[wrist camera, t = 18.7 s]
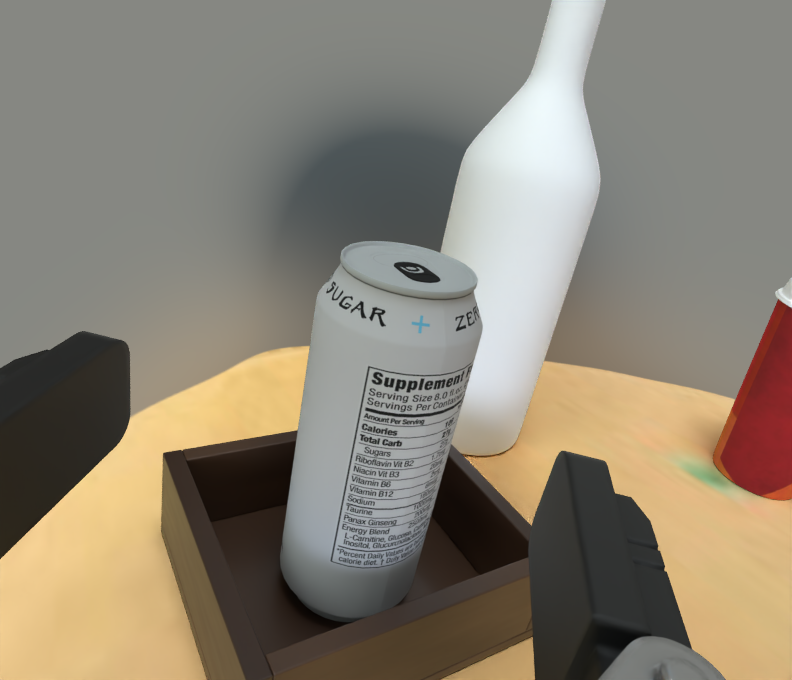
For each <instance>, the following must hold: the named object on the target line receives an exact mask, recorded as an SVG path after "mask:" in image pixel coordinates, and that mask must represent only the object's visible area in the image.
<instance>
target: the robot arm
mask: <svg viewBox="0 0 792 680" xmlns="http://www.w3.org/2000/svg"><path fill="white" fill-rule="evenodd" d="M129 419H130V352H129V348H128V345H127V344H126V343H125V342H124V341H122V340H118V339H114V338H110V337H106V336H102V335H98V334H94V333H90V332H85V331H82V332H78V333H76V334H75V335H73V336H72V337H70V338H68V339H67V340H65V341H64V342H62V343H60V344H59V345H57V346H55V347H54V348H52V349H51V350H44V351H41V352H38V353H35V354H31V355H28V356H25V357H22V358H19V359H15V360H13V361H12V362H10V363H9V364H7V365H5V366H3V367H2V368H0V559H1V558H2V557H3V556H4V555H5V554H6V553H7V552H8V551H9V550H10V549H11V548H12V547H13V546H14V545H15V544H16V543H17V542H18V541H19V540H20V539H21V538H22V537H23V536H24V535H25V534H26V533H27V532H28V531H29V530H30V529H31V528H32V527H34V526H35V525H36V524H37V523H38V522H39V521H40V520H41V519H42V518H43V517H44V516H45V515H46V514H47V513H48V512H49V511H50V510H51V509H52V508H53V507H54V506H55V505H56V504H57V503H58V502H59V501H60V500H61V499H62V498H63V497H64V496H65V495H66V494H67V493H68V492H69V491H70V490H71V489H73V488H74V487H75V486H76V485H77V484H78V483H79V482H80V481H81V480H82V479H83V478H84V477H85V476H86V475H87V474H88V473H89V472H90V471H91V470H92V469H93V468H94V467H95V466H96V465H97V464H98V463H99V462H100V461H101V460H102V459H103V458H104V457H105V456H106V455H107V454H108V453H109V452H110V451H111V450H113V449H114V448H115V447H116V446H117V444H118V443H119V442H120V441H121V439H122V437H123V436H124V434H125V432H126V429H127V426H128V423H129ZM528 555H529V574H530V592H531V611H532V630H533V648H534V667H535V680H726V679H725V678H724V677H723V676H722V674H721V673H720V672H719V671H718V670H717V669H716V668H715V667H714V666H713V665H712V664H711V663H709V662H708V661H707V660H706V659H705V658H703V657H702V656H701V655H699V654H698V653H696V652H695V651H694V650H692V648H691V644H690V641H689V638H688V635H687V632H686V629H685V626H684V623H683V620H682V617H681V614H680V611H679V608H678V605H677V602H676V599H675V596H674V593H673V589H672V586H671V583H670V580H669V577H668V574H667V572H665V571H664V568H665V565H664V562H663V559H662V556H661V553H660V551H658V544H657V541H656V538H655V534H654V531H653V528H652V525H651V522H650V520H649V519H648V518H647V517H646V515H645V514H644V513H643V512H642V510H641V509H640V508H639V507H638V505H637V504H636V503H635V502H634V500H633V499H632V498H631V497H628V496H624V495H620V494H616V493H615V492H614V488H613V485H612V481H611V477H610V473H609V470H608V466H607V463H606V462H605V461H603V460H599V459H595V458H591V457H587V456H583V455H579V454H575V453H571V452H567V451H561V452H560V453H559V454H558V456H557V458H556V460H555V463H554V465H553V468H552V471H551V473H550V476H549V479H548V481H547V484H546V487H545V490H544V492H543V495H542V498H541V500H540V503H539V506H538V508H537V511H536V514H535V517H534V520H533V523H532V527H531V532H530V538H529V549H528Z"/></svg>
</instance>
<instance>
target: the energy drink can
mask: <svg viewBox="0 0 792 680" xmlns="http://www.w3.org/2000/svg"><path fill="white" fill-rule="evenodd" d="M340 260H341V264H340V265H339V267H338V268H337V270H336V271H335V272H334V273H333V274H332V276H331V277H330V278H329V279H328V281H327V282H326V283H325V284H324V286H323V287H322V288H321V289H320V291H319V292H318V295H317V300H316V307H315V314H314V321H313V328H312V335H311V342H310V349H309V356H308V363H307V370H306V377H305V384H304V391H303V398H302V405H301V412H300V419H299V426H298V433H297V440H296V447H295V454H294V461H293V468H292V475H291V482H290V489H289V496H288V503H287V510H286V517H285V524H284V532H283V539H282V546H281V553H280V566H281V570H282V573H283V576H284V579H285V580H286V582H287V584H288V585H289V587H290V589H291V590H292V591H293V592H294V593H295V594H296V595H297V597H298V599H299V600H300V601H301V602H302V603H303V604H304V605H305V606H306V607H307V608H309V609H310V610H311V611H313V612H314V613H316V614H318V615H320V616H322V617H324V618H327V619H331V620H334V621H340V622H355V621H357V620H360V619H363V618H365V617H368V616H371V615H374V614H376V613H379V612H382V611H384V610H387V609H390V608H392V607H394V606H395V605H396V604H398V603H399V602H400V601H401V600H402V599H403V598H404V597H405V596H406V594H407V593H408V591H409V589H410V587H411V585H412V583H413V579H414V576H415V572H416V569H417V565H418V561H419V558H420V554H421V551H422V547H423V543H424V540H425V536H426V533H427V529H428V525H429V522H430V518H431V515H432V511H433V507H434V504H435V500H436V497H437V493H438V489H439V486H440V482H441V479H442V475H443V471H444V468H445V464H446V461H447V457H448V453H449V450H450V446H451V443H452V439H453V435H454V432H455V428H456V425H457V421H458V417H459V414H460V410H461V407H462V403H463V400H464V396H465V392H466V389H467V385H468V382H469V378H470V374H471V371H472V367H473V364H474V360H475V356H476V353H477V349H478V346H479V342H480V338H481V335H482V329H483V325H482V320H481V317H480V313H479V310H478V306H477V302H476V299H475V294H474V290H475V289H476V286H477V281H478V278H477V276H476V274H475V272H474V271H473V270H472V269H471V268H469V267H468V266H467V265H465V264H464V263H462V262H460V261H458V260H456V259H454V258H452V257H450V256H448V255H445V254H442V253H439V252H437V251H433V250H430V249H427V248H423V247H418V246H414V245H408V244H403V243H396V242H385V241H384V242H383V241H367V242H358V243H354V244H351V245H349V246H347V247H345V248H344V249H343V250H342V252H341V258H340Z"/></svg>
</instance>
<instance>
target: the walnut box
mask: <svg viewBox="0 0 792 680" xmlns="http://www.w3.org/2000/svg"><path fill="white" fill-rule="evenodd" d="M297 433H298V430H297V431H291V432H285V433H279V434H273V435H267V436H262V437H256V438H250V439H244V440H238V441H232V442H226V443H220V444H214V445H208V446H202V447H196V448H190V449H184V450H183V451H182V450H178V451H172V452H166V453H163V478H162V515H161V522H162V523H161V532H162V535H163V539H164V542H165V545H166V548H167V551H168V555H169V558H170V561H171V564H172V568H173V571H174V574H175V577H176V580H177V584H178V587H179V590H180V593H181V596H182V600H183V603H184V606H185V609H186V613H187V616H188V619H189V622H190V625H191V629H192V632H193V635H194V638H195V641H196V645H197V648H198V651H199V654H200V657H201V661H202V664H203V667H204V670H205V674H206V677H207V680H439V679H441V678H443V677H445V676H447V675H450V674H452V673H454V672H456V671H458V670H460V669H462V668H465V667H467V666H469V665H471V664H473V663H475V662H477V661H480V660H482V659H484V658H486V657H488V656H490V655H492V654H495V653H497V652H499V651H501V650H503V649H505V648H507V647H509V646H512V645H514V644H516V643H518V642H520V641H522V640H524V639H527V638H529V637H531V636H533V630H532V611H531V592H530V574H529V555H528V549H529V538H530V532H531V527H532V526H531V525H530V524H529V523H528V522H527V521H526V520H525V519H524V518H523V517H522V516H521V515H520V514H519V513H518V512H517V511H516V510H515V509H514V508H513V507H512V506H511V505H510V504H509V503H508V501H507V500H506V499H505V498H504V497H503V496H502V495H501V494H500V493H499V492H498V491H497V490H496V489H495V488H494V487H493V486H492V485H491V484H490V483H489V482H488V481H487V480H486V479H485V478H484V477H483V476H482V475H481V474H480V473H479V472H478V471H477V470H476V469H475V468H474V467H473V466H472V464H471V463H470V462H469V461H468V460H467V459H466V458H465V457H464V456H463V455H462V454H461V453H460V452H459V451H458V450H457V449H456V448H455V447H454V446H453V445H452V444H451V446H450V450H449V453H448V457H447V461H446V464H445V468H444V471H443V475H442V479H441V482H440V486H439V489H438V493H437V497H436V500H435V504H434V507H433V511H432V515H431V518H430V522H429V525H428V529H427V533H426V536H425V540H424V543H423V547H422V551H421V554H420V558H419V561H418V565H417V569H416V572H415V576H414V579H413V583H412V585H411V587H410V589H409V591H408V593H407V594H406V596H405V597H404V598H403V599H402V600H401V601H400V602H399V603H398V604H396V605H395V606H394V607H392V608H390V609H387V610H384V611H382V612H379V613H376V614H374V615H371V616H368V617H365V618H363V619H360V620H357V621H355V622H340V621H334V620H331V619H327V618H324V617H322V616H320V615H318V614H316V613H314V612H313V611H311V610H310V609H309V608H307V607H306V606H305V605H304V604H303V603H302V602H301V601H300V600H299V599H298V597H297V595H296V594H295V593H294V592H293V591H292V590H291V589H290V587H289V585H288V584H287V582H286V580H285V579H284V576H283V573H282V570H281V566H280V553H281V546H282V539H283V532H284V524H285V517H286V510H287V503H288V496H289V489H290V482H291V475H292V468H293V461H294V454H295V447H296V440H297Z"/></svg>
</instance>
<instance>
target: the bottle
mask: <svg viewBox="0 0 792 680" xmlns="http://www.w3.org/2000/svg"><path fill="white" fill-rule="evenodd" d="M605 2H606V0H552V3H551V6H550V10H549V14H548V18H547V21H546V25H545V29H544V33H543V36H542V39H541V43H540V47H539V50H538V53H537V57H536V60H535V64H534V67H533V69H532V72H531V74H530V76H529V78H528V80H527V81H526V83H525V84H524V85H523V86H522V88H521V89H520V90H519V91H518V92H517V93H516V95H514V96H513V98H512V99H511V100H510V101H509V102H508V103H507V104H506V105H505V106H504V107H503V108H502V109H501V110H500V111H499V113H498V114H497V115H496V116H495V117H494V118H493V119H492V120H491V121H490V122H489V123H488V124H487V125H486V127H485V128H484V129H483V130H482V131H481V132H480V133H479V135H478V136H477V137H476V138H475V139H474V140H473V142H472V143H471V145H470V146H469V147H468V149H467V150H466V153H465V155H464V157H463V160H462V163H461V167H460V171H459V174H458V178H457V183H456V187H455V191H454V195H453V200H452V204H451V209H450V213H449V217H448V221H447V226H446V231H445V235H444V239H443V244H442V248H441V252H440V253H442V254H445V255H448V256H450V257H452V258H454V259H456V260H458V261H460V262H462V263H464V264H465V265H467V266H468V267H469V268H471V269H472V270H473V271H474V272H475V274H476V276H477V278H478V281H477V286H476V289H475V290H474V294H475V299H476V302H477V306H478V310H479V313H480V317H481V320H482V325H483V329H482V335H481V338H480V342H479V346H478V349H477V353H476V356H475V360H474V364H473V367H472V371H471V374H470V378H469V382H468V385H467V389H466V392H465V396H464V400H463V403H462V407H461V410H460V414H459V417H458V421H457V425H456V428H455V432H454V435H453V439H452V443H451V444H452V445H453V446H454V447H455V448H456V449H457V450H458V451H459V452H460V453H462V454H466V455H476V456H485V455H494V454H499V453H501V452H504V451H506V450H508V449H509V448H510V447H512V446H513V445H514V443H515V442H516V440H517V439H518V436H519V433H520V430H521V428H522V425H523V422H524V419H525V416H526V413H527V410H528V407H529V404H530V401H531V398H532V395H533V392H534V389H535V386H536V383H537V380H538V377H539V374H540V371H541V368H542V365H543V362H544V359H545V356H546V353H547V350H548V347H549V344H550V341H551V338H552V335H553V332H554V329H555V326H556V323H557V320H558V317H559V314H560V311H561V308H562V305H563V302H564V299H565V296H566V293H567V290H568V287H569V284H570V281H571V278H572V275H573V272H574V269H575V266H576V263H577V260H578V257H579V254H580V251H581V248H582V245H583V242H584V239H585V235H586V233H587V230H588V227H589V224H590V221H591V218H592V215H593V212H594V208H595V205H596V202H597V198H598V195H599V189H600V182H601V179H600V169H599V164H598V159H597V154H596V149H595V145H594V141H593V137H592V133H591V128H590V125H589V120H588V116H587V112H586V108H585V104H584V98H583V83H584V77H585V72H586V69H587V65H588V61H589V58H590V54H591V50H592V47H593V43H594V40H595V36H596V33H597V29H598V26H599V22H600V19H601V16H602V12H603V8H604V5H605Z"/></svg>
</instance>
